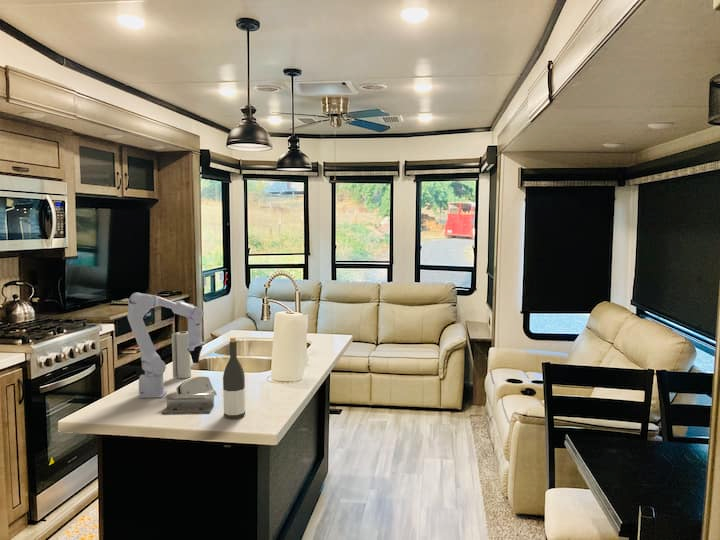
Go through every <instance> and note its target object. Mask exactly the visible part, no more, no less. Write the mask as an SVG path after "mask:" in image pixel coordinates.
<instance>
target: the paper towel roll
mask: <svg viewBox="0 0 720 540" xmlns="http://www.w3.org/2000/svg"><path fill="white" fill-rule="evenodd" d="M188 348H189V346H188V330H186V331H178V332H174V333H171V353H172V355H171V356H172V358H171V359H172V379H175V378H178V379H188V378H190V377H191V378H192V367H191V366H192V364H191V363H192V362H191V360H192V358H191V354H190V352H189V351H188Z"/></svg>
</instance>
